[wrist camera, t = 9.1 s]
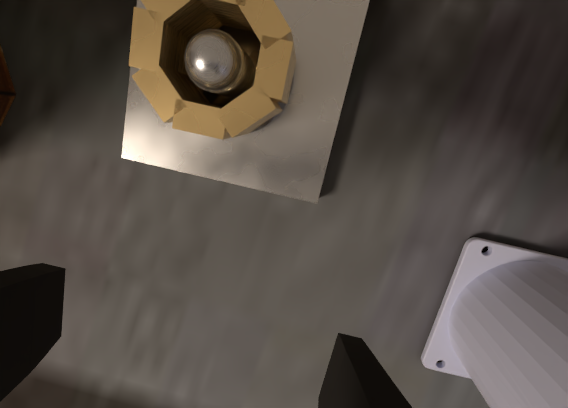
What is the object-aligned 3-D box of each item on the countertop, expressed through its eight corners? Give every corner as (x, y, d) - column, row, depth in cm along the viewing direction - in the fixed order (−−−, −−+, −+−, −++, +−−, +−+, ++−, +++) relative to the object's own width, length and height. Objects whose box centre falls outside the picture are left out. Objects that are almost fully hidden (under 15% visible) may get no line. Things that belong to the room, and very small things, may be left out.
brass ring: (305, 15, 14) (305, -18, 10) (279, 143, 15) (271, 150, 12) (180, -12, 14) (139, -55, 10) (164, 117, 15) (123, 117, 12)
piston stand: (370, -12, 15) (412, -95, 9) (316, 198, 18) (321, 239, 12) (154, -62, 15) (58, -175, 9) (131, 155, 18) (44, 174, 12)
